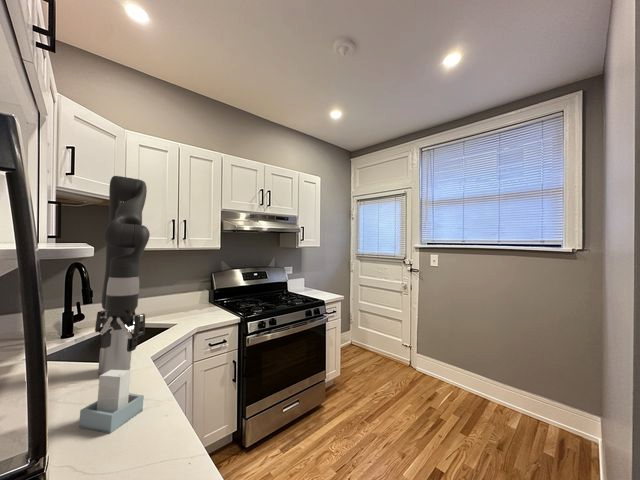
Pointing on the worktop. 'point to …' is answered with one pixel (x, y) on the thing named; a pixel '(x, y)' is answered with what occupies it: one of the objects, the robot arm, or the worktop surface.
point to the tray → (110, 415)
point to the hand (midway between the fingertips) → (118, 349)
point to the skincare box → (113, 390)
